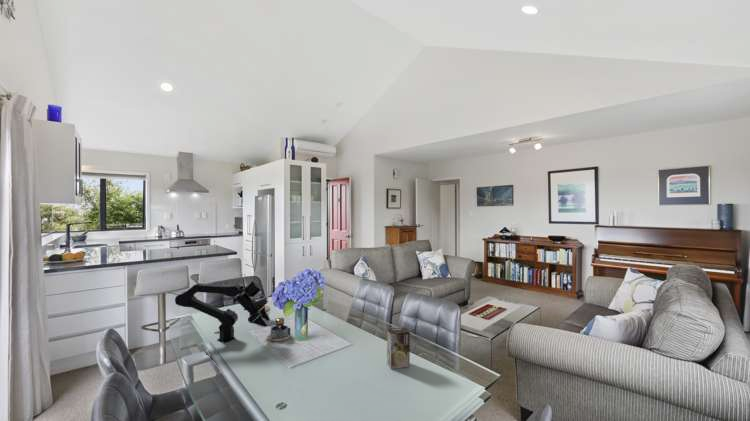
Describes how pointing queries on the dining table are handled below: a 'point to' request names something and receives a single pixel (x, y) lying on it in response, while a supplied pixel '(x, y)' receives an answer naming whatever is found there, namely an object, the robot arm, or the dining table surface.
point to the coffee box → (398, 348)
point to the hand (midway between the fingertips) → (267, 322)
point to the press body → (279, 333)
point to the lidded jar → (267, 311)
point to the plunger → (279, 322)
